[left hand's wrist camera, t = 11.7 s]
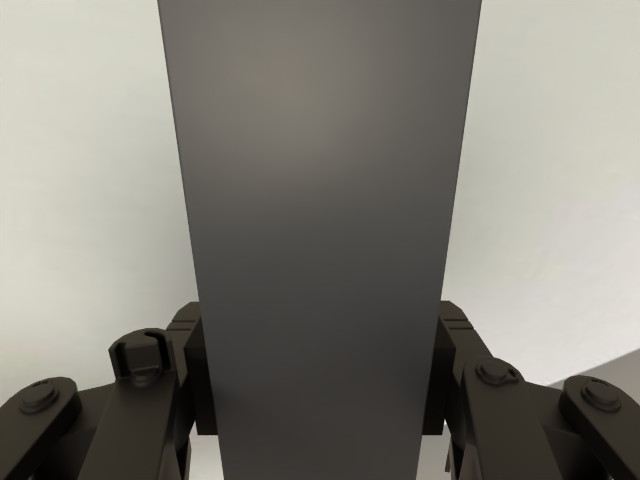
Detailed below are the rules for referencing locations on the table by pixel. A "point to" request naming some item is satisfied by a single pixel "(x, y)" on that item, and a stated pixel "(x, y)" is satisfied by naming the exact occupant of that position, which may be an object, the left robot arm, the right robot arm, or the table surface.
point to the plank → (319, 219)
